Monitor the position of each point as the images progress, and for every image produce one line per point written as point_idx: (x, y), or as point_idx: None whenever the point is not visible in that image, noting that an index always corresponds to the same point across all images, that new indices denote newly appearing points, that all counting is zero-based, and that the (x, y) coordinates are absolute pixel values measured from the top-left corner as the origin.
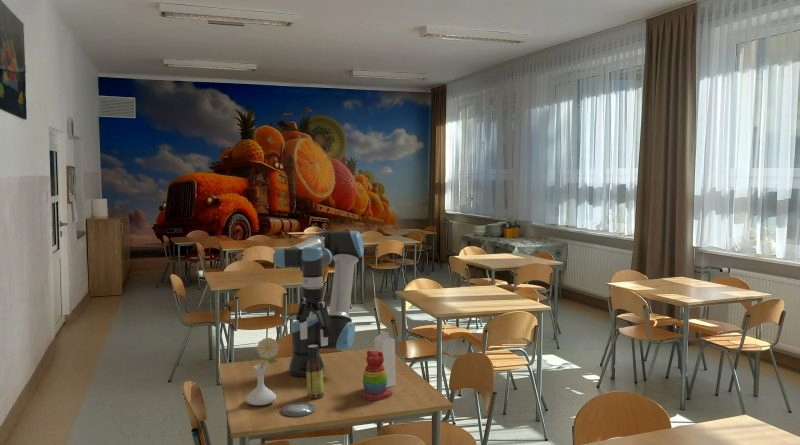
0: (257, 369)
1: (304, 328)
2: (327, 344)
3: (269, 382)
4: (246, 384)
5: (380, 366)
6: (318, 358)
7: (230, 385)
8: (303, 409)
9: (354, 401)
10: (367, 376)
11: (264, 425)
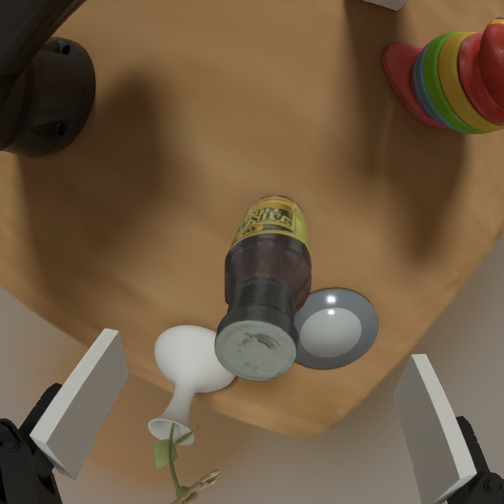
0: (186, 443)
1: (85, 417)
2: (425, 361)
3: (63, 240)
4: (52, 290)
5: None
6: (296, 288)
7: (45, 315)
8: (350, 330)
9: (417, 167)
10: (485, 131)
11: (330, 410)
